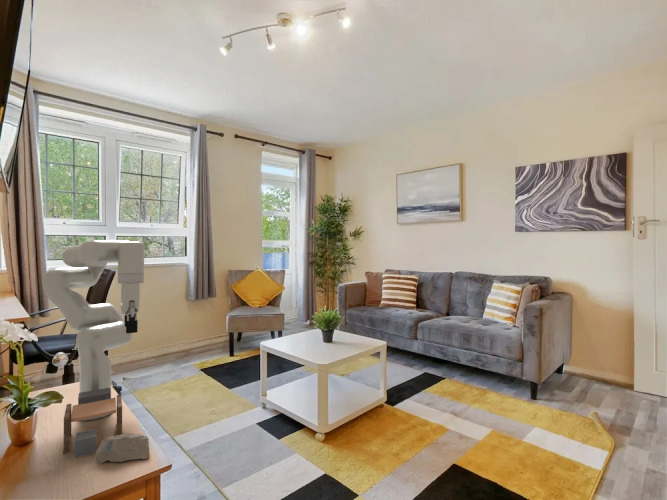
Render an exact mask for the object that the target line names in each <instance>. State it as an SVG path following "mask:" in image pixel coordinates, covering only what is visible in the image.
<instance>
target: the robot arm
mask: <svg viewBox="0 0 667 500" xmlns="http://www.w3.org/2000/svg"><path fill="white" fill-rule="evenodd" d="M61 259H62V261H63V263H64V264H65V265H66V266H67V267H63V266H62V267H56V268H52V269H49V270H48V271H46V272H45V273H44V274H43V275H42V279H41V284H42V289H43V292H44V293H45V296H46V297H47V298H48V299H49V301H51V302H52V304H54V305H55V307H57V308H58V309H59V310H60V312H61V314H62V316H63V318H64V319H65V321H66V322H67V323H68V325H69V326H70V328H71V329H72V330H73V331H74V332H78V333H77V335H76V339H75V343H76V347H77V352H78V361H79V364H78V365H79V393H82V392H87V391H93V390H99V389H104V388H110V387H111V388H112V362H111V359H110V358H109V357H108V356H107V354H106V353H105V351H109V350H112V349H116V348H119V347H124V346H126V345H128V344H129V343H130V341H131V340H132V338H133V337H132V336H133V334H134V333H138V315H137V314H138V313H139V312H140V301H141V300H140V298H141V297H140V296H141V294H140V293H141V284H143V283H144V282H145V272H144V271H145V244H144V243H143V242H141V241H130V240H121V239H120V240H119V239H117V240H115V239H109V240H108V239H104V240H103V239H102V240H101V239H95V240H87V241H83V242H82V243H81V244H77V245H71V246H69V247H68V248H66V249H65V250H64V251H63V252H62V255H61ZM108 263H117V284H118V285H119V284H120V285H121V287H120V288H121V289H120V311H119V309H118V308H117V307H116V306H115V305H114V304H112V303H110V302H105V303H104V302H103V303H96V304H92V303H89V302H88V301H87V300H86V298H85V297H84V296H83V295H82V294H81V293H79V292H77V291H74V290H72V289H83V288H90V287H93V286H94V285H96V284H97V283H98V281H99V279H100V277H101V275H102V274H103V273H104V270H105V268H106V266H107V265H108ZM123 315H124V316H123ZM109 415H110V414H108V415H103V416H98V417H94V418H89V419H84V420H82V421H92V420H98V419H101V418H104V417H107V416H109Z"/></svg>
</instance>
